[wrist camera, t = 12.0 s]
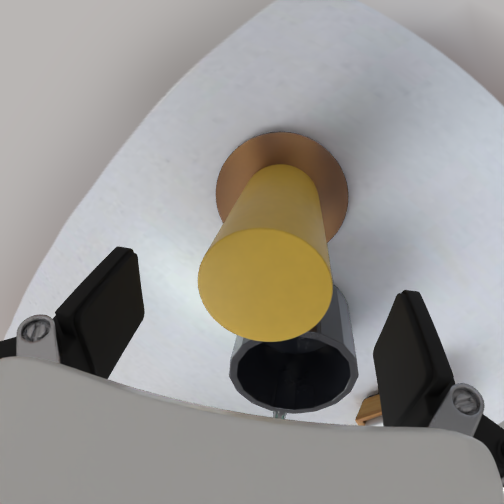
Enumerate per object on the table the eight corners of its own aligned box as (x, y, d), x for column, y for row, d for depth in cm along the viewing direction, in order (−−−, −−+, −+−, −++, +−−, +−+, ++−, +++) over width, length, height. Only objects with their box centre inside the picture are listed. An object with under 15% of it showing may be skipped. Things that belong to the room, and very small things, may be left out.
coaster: (318, 111, 21) (319, 111, 20) (363, 232, 24) (364, 235, 24) (195, 163, 24) (193, 165, 23) (250, 270, 27) (249, 274, 27)
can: (301, 152, 22) (304, 206, 11) (329, 221, 24) (348, 323, 13) (231, 181, 23) (173, 255, 13) (262, 244, 25) (233, 352, 15)
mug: (249, 264, 27) (232, 320, 20) (360, 280, 26) (375, 339, 20) (239, 368, 33) (225, 424, 27) (325, 380, 32) (326, 437, 26)
